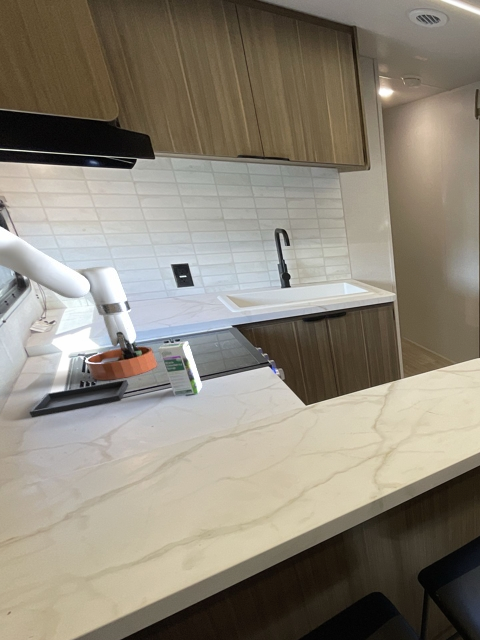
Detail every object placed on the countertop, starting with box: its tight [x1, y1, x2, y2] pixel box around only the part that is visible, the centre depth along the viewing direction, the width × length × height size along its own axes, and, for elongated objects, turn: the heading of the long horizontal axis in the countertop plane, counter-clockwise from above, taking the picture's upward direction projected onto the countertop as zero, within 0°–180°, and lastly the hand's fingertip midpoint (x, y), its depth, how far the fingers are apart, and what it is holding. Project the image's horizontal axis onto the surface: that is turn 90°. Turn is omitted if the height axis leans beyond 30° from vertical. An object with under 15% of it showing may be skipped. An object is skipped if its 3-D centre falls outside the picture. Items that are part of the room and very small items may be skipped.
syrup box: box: [158, 340, 203, 397], centre depth 114 cm, size 6×6×14 cm
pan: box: [29, 379, 129, 418], centre depth 111 cm, size 17×13×2 cm
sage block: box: [122, 350, 142, 360], centre depth 132 cm, size 4×4×4 cm
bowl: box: [84, 346, 158, 381], centre depth 130 cm, size 16×16×6 cm
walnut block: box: [101, 357, 121, 363], centre depth 129 cm, size 4×4×4 cm
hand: (134, 362), depth 132 cm, fingers closed on sage block, 4 cm apart
